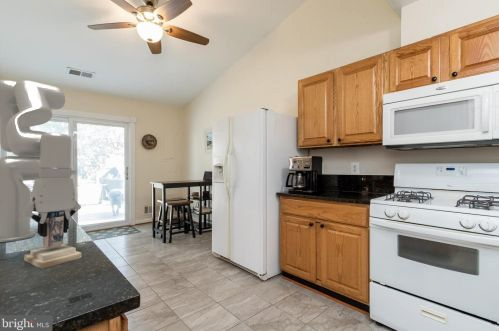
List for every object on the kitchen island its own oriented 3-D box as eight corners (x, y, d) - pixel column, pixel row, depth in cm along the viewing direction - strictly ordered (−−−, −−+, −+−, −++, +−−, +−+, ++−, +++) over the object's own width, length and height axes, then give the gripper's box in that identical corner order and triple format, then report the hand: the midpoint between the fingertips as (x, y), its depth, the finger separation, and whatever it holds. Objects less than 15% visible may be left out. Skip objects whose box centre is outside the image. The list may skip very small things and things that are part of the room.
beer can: (52, 249, 72) (53, 208, 72) (38, 247, 73) (40, 207, 73) (67, 244, 77) (68, 205, 77) (54, 243, 78) (55, 205, 78)
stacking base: (23, 260, 73) (24, 250, 73) (62, 250, 82) (62, 241, 82) (41, 269, 67) (41, 258, 67) (81, 257, 76) (81, 248, 76)
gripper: (79, 173, 84) (77, 226, 84) (13, 174, 70) (11, 238, 69) (91, 174, 80) (89, 230, 80) (24, 174, 66) (22, 243, 66)
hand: (53, 233), depth 75 cm, fingers closed on beer can, 4 cm apart
